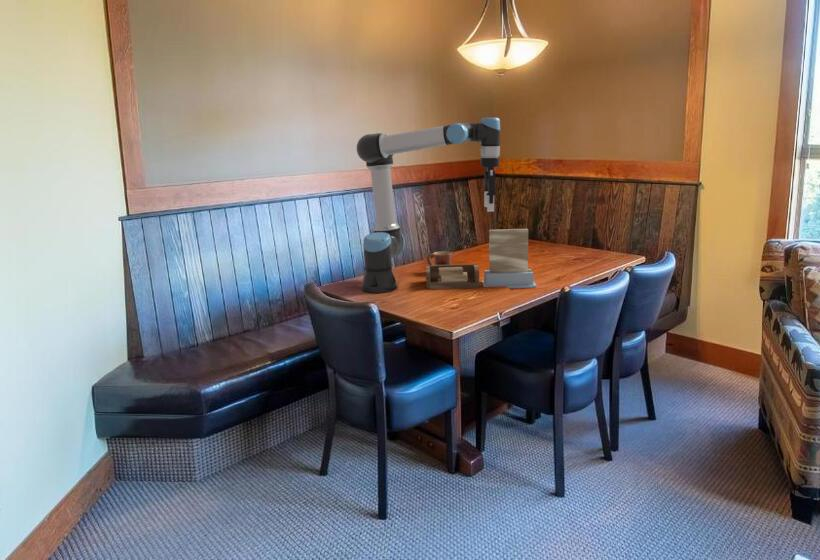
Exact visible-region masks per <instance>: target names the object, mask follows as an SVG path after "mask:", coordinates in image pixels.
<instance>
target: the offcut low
mask: <svg viewBox="0 0 820 560" xmlns="http://www.w3.org/2000/svg"><path fill="white" fill-rule="evenodd" d="M438 283H467V281H442V282H441V279H438Z"/></svg>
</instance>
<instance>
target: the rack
mask: <svg viewBox="0 0 820 560" xmlns="http://www.w3.org/2000/svg"><path fill="white" fill-rule="evenodd" d="M445 267H462V268H463V272H467V275H468V281H467V283H438V279H441V276H439V268H445ZM425 280H426V281H425V283H426V288H425V289H426V290H447V289H450V290H452V289H453V290H454V289H478V288H480V269H479V265H478V263H464V264H463V263H462V264H461V263H460V264H451V265H435V264H433V265H429V264H426V269H425Z"/></svg>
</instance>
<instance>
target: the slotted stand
mask: <svg viewBox="0 0 820 560" xmlns="http://www.w3.org/2000/svg"><path fill="white" fill-rule="evenodd" d="M532 270H533V269H531V268H528V272H519V273H489V269H488V270H487V269H485V270H483V274H484V275H483V280H481V283H482V286H483V287H484V288H488V287H489V288H490V287H491V288H492V287H493V288H495V287H508V289H537V284H536V282H535V281H534V276H535V274H534V272H533V271H532Z"/></svg>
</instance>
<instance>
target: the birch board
mask: <svg viewBox="0 0 820 560" xmlns="http://www.w3.org/2000/svg"><path fill="white" fill-rule="evenodd" d="M488 238H489V239H488V244H489V246H488V247H489V248H488V251H489V252H488V253H489V255H488V256H489V257H488V258H489V259H488V260H489V261H488V266H489V267H488V270H489V273H519V272H528V269H529V229H528V228H509V229H507V228H506V229H505V228H504V229H500V228H499V229H489V230H488Z"/></svg>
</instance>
